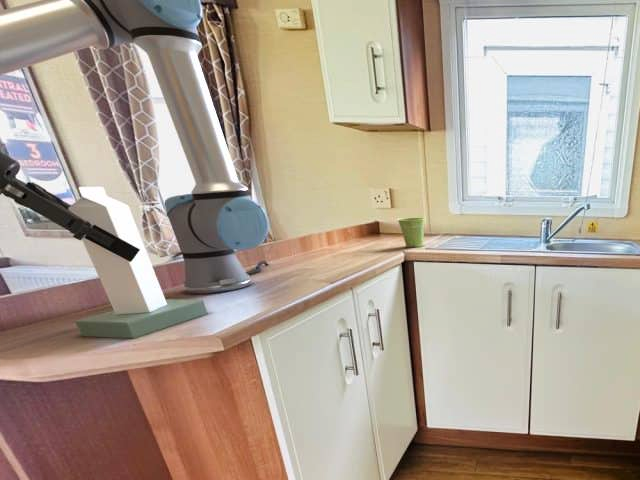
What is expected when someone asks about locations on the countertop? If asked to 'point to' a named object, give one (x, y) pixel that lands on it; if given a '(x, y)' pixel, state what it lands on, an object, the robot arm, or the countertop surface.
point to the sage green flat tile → (141, 320)
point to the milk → (114, 271)
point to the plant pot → (412, 231)
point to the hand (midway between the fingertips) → (136, 252)
